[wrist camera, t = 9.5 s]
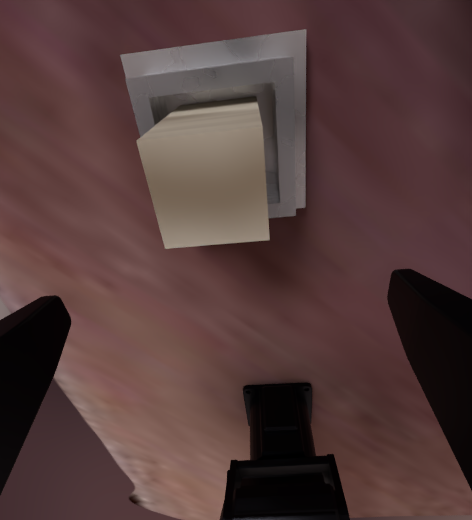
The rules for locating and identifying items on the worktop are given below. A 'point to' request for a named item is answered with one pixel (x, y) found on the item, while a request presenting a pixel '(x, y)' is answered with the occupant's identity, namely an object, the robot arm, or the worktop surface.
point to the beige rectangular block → (208, 173)
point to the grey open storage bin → (235, 97)
